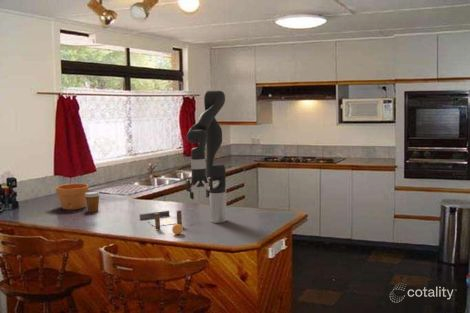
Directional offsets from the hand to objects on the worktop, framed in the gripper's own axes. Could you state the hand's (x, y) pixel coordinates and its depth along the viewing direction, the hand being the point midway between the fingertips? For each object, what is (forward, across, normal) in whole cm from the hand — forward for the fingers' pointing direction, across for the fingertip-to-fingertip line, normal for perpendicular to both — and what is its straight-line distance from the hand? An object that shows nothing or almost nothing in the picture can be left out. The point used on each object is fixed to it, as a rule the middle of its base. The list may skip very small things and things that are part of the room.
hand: (199, 198), depth 281 cm
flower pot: (+16, +48, -112) cm, 123 cm away
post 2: (+19, +4, -23) cm, 30 cm away
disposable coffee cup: (+17, +38, -94) cm, 103 cm away
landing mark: (+18, +10, -37) cm, 42 cm away
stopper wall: (+18, +10, -52) cm, 56 cm away
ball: (+16, +11, -7) cm, 21 cm away
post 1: (+19, +17, -23) cm, 34 cm away
